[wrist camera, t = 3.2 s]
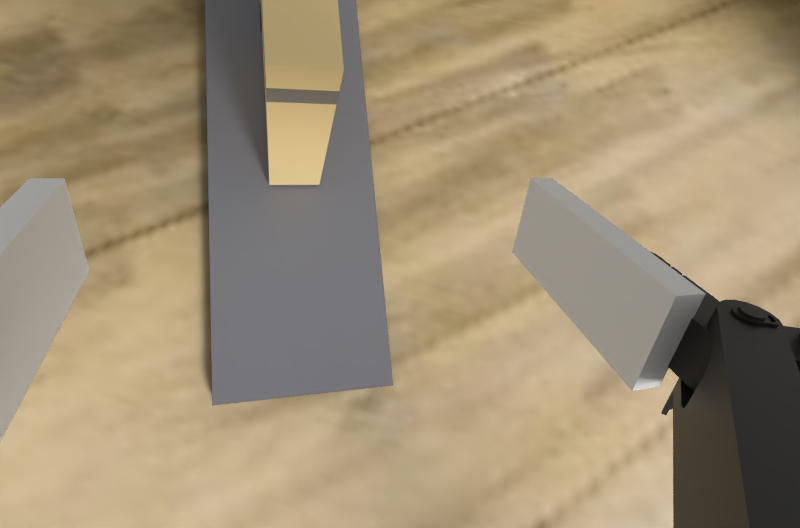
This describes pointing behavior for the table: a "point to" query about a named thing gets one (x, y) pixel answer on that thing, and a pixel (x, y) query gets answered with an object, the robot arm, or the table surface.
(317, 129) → the tan cardboard parcel
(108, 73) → the table surface
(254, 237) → the base
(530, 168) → the table surface
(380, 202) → the table surface
